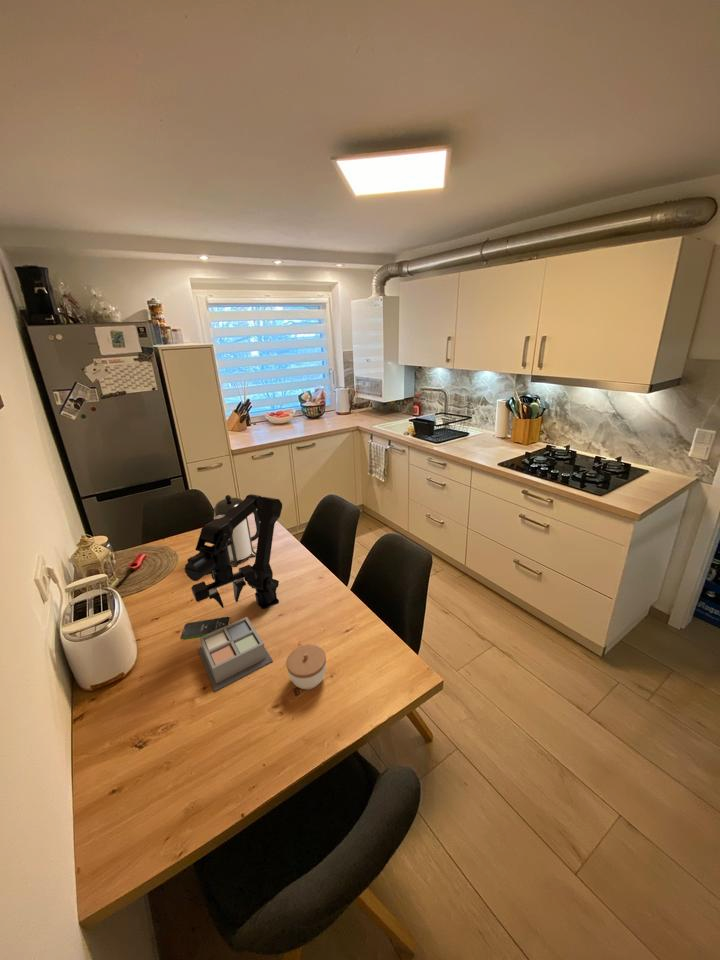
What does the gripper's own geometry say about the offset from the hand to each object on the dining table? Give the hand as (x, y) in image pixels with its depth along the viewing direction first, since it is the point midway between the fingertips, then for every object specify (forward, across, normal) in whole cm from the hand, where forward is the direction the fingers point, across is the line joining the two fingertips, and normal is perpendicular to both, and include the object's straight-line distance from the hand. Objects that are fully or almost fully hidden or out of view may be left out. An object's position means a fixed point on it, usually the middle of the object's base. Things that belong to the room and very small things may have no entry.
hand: (229, 604), depth 122 cm
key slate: (+9, 0, +7) cm, 11 cm away
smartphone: (+12, +7, -8) cm, 16 cm away
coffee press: (+11, -18, -46) cm, 50 cm away
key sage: (+9, 0, +13) cm, 16 cm away
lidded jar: (+11, -10, +32) cm, 35 cm away
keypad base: (+11, +4, +10) cm, 15 cm away
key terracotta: (+9, +7, +14) cm, 18 cm away
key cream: (+9, +7, +6) cm, 13 cm away
